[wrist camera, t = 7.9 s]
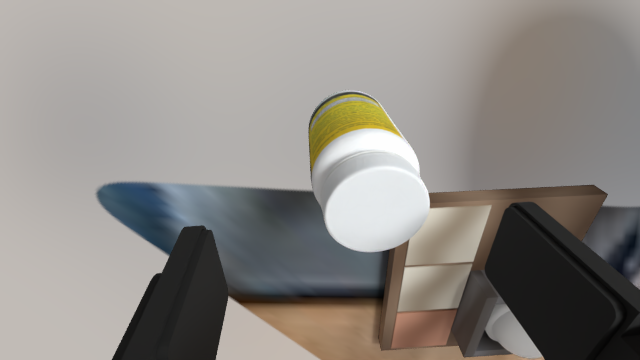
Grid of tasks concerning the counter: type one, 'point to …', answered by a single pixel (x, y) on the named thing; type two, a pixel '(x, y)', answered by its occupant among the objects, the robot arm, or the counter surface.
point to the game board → (463, 266)
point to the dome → (510, 333)
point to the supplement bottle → (364, 174)
